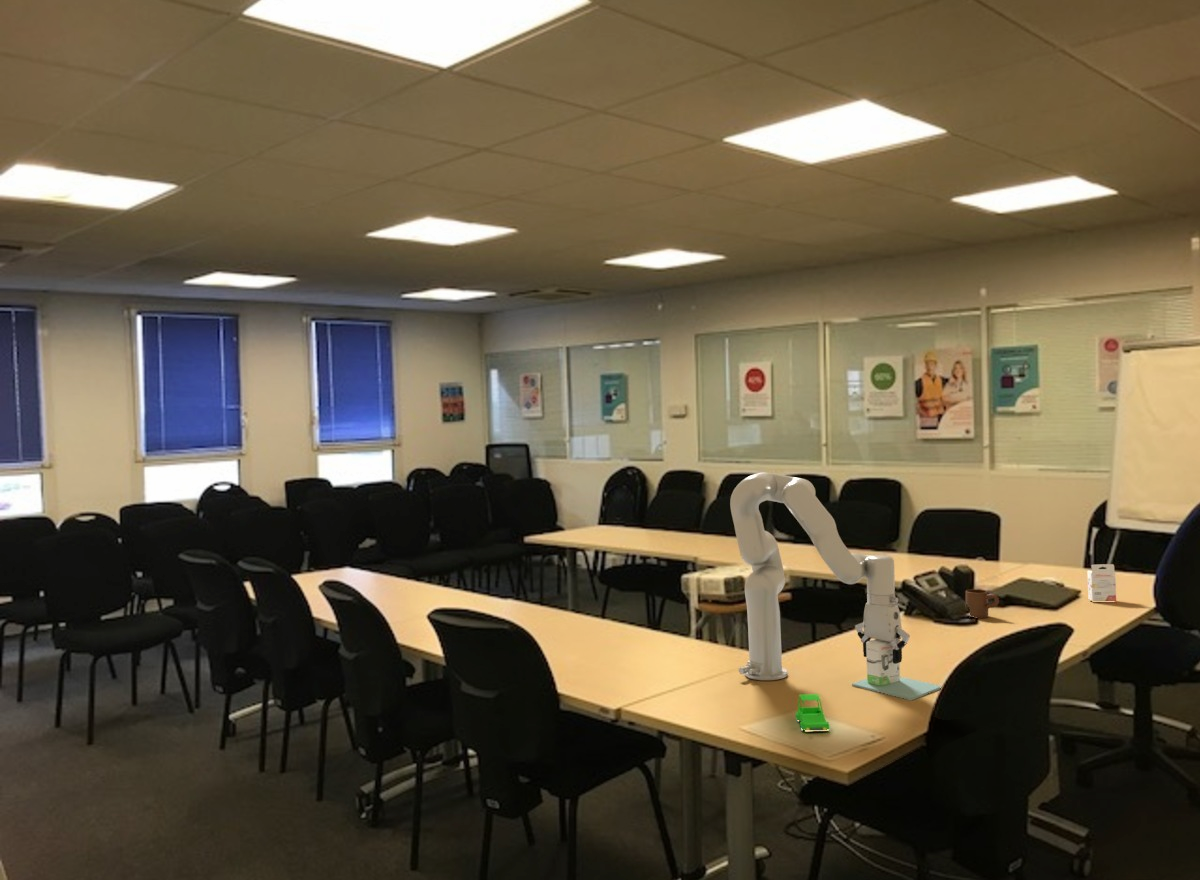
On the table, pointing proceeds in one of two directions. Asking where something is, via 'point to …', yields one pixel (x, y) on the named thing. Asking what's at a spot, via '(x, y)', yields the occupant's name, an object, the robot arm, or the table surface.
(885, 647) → the white cardboard box
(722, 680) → the table surface
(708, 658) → the table surface
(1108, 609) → the table surface
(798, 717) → the toy car
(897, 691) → the mat
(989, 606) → the mug
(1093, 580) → the ink cartridge box
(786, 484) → the robot arm
